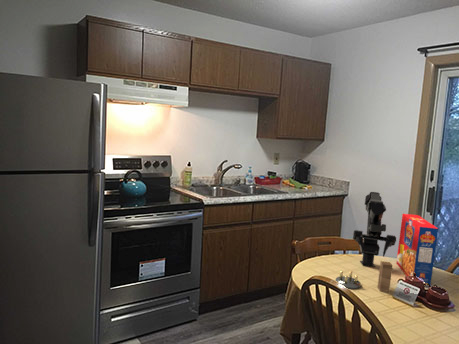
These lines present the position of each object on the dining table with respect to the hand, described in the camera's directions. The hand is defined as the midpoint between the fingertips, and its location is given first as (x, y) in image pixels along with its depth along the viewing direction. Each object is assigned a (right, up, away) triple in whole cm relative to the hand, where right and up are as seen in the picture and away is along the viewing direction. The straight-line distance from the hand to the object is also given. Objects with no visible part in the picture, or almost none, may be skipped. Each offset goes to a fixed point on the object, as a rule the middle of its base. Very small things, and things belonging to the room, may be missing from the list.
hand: (372, 254), depth 172 cm
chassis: (-12, -13, -1) cm, 18 cm away
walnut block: (+3, -15, -5) cm, 16 cm away
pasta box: (+27, -14, +17) cm, 35 cm away
